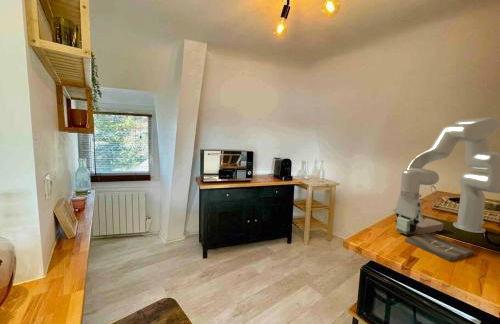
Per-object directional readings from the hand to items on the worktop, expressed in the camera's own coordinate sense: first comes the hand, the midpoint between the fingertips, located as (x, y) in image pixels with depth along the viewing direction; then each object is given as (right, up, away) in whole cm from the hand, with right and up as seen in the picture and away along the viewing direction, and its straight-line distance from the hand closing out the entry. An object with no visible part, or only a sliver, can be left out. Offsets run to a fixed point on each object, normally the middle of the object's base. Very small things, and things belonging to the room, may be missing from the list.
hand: (406, 228), depth 114 cm
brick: (+13, -3, +6) cm, 15 cm away
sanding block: (0, -1, 0) cm, 1 cm away
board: (+4, -4, -13) cm, 15 cm away
